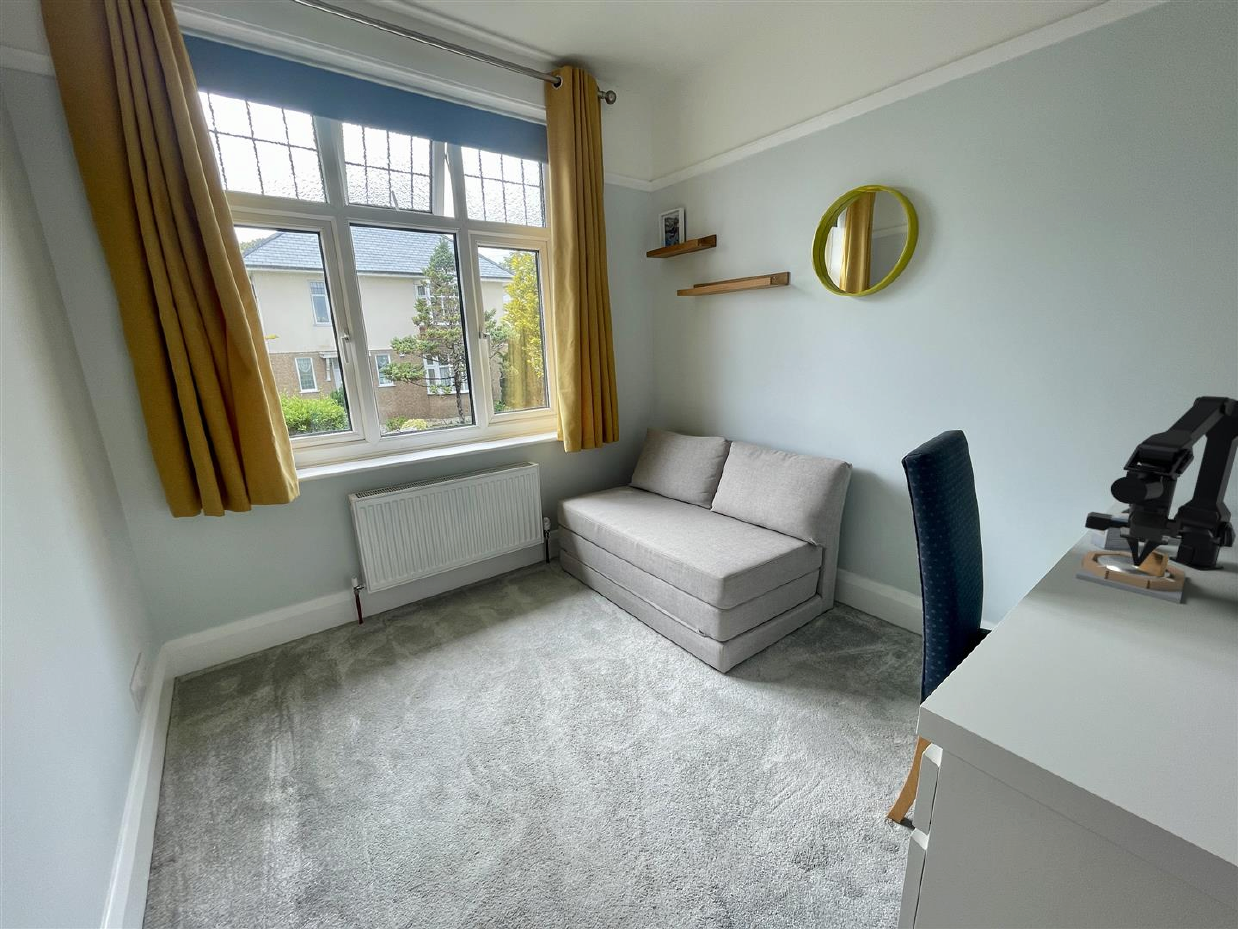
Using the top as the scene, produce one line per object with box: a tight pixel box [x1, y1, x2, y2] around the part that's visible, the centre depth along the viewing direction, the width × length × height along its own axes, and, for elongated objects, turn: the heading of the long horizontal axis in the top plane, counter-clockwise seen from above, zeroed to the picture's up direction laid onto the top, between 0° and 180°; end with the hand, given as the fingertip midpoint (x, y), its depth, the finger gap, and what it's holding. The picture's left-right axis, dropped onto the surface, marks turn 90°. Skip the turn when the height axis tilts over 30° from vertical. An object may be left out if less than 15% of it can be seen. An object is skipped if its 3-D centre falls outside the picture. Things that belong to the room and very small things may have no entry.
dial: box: [1097, 549, 1170, 578], centre depth 112 cm, size 12×12×7 cm
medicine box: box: [1090, 512, 1131, 550], centre depth 129 cm, size 8×4×9 cm, turn 84°
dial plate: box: [1075, 550, 1187, 604], centre depth 112 cm, size 18×16×3 cm
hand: (1136, 565), depth 108 cm, fingers closed
